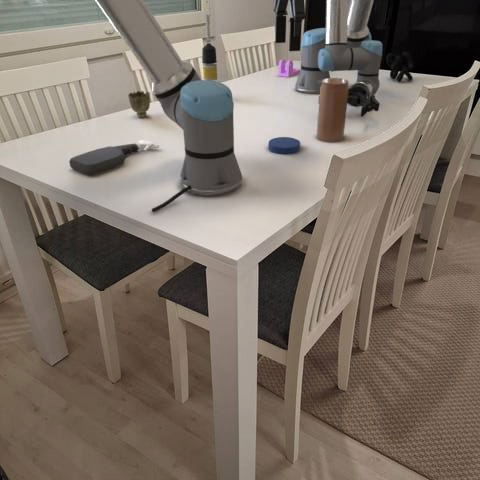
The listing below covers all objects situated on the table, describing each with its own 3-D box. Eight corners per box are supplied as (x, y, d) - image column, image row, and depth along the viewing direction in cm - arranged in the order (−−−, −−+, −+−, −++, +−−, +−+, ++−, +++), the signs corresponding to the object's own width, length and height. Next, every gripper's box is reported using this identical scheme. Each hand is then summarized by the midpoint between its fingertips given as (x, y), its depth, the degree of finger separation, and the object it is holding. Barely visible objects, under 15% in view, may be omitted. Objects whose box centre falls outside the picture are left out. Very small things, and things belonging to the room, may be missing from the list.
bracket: (288, 77, 209) (289, 61, 205) (278, 75, 212) (278, 60, 208) (302, 72, 218) (303, 57, 214) (292, 70, 221) (293, 55, 217)
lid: (285, 140, 136) (285, 134, 135) (306, 149, 129) (306, 142, 128) (262, 147, 131) (262, 141, 130) (282, 156, 125) (283, 150, 124)
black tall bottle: (220, 99, 177) (217, 15, 161) (206, 100, 176) (202, 16, 160) (215, 96, 182) (212, 14, 166) (202, 97, 180) (197, 14, 164)
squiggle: (400, 92, 202) (376, 71, 205) (417, 76, 202) (392, 56, 205) (405, 81, 191) (380, 59, 194) (423, 64, 191) (397, 42, 194)
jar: (347, 136, 138) (353, 79, 129) (336, 143, 133) (342, 85, 124) (323, 131, 142) (327, 76, 133) (312, 139, 137) (316, 82, 128)
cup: (126, 117, 158) (123, 94, 154) (140, 112, 164) (137, 89, 160) (143, 120, 155) (140, 96, 151) (156, 114, 161) (153, 91, 157)
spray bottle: (67, 168, 120) (139, 144, 136) (91, 178, 114) (163, 151, 130) (65, 157, 118) (137, 134, 134) (89, 167, 112) (162, 142, 128)
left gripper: (324, -54, 94) (316, 54, 106) (291, -50, 115) (288, 39, 126) (289, -53, 93) (286, 55, 105) (263, -50, 114) (262, 40, 125)
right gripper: (393, 108, 154) (378, 126, 138) (324, 100, 164) (303, 116, 148) (397, 86, 150) (382, 102, 134) (326, 79, 160) (304, 93, 144)
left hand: (287, 46), depth 116 cm, fingers open, 13 cm apart
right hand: (340, 109), depth 141 cm, fingers open, 13 cm apart
